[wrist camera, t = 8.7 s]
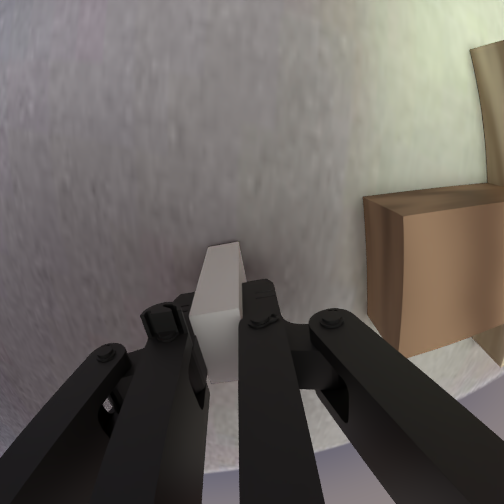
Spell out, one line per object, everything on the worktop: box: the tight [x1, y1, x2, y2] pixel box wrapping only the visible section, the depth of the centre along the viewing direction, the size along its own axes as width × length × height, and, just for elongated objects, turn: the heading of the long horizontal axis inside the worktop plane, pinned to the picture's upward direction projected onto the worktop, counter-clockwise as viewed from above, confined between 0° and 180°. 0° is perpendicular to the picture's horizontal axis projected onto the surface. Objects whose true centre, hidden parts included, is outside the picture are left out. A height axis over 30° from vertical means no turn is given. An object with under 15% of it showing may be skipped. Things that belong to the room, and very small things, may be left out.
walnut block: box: [363, 183, 504, 358], centre depth 15 cm, size 9×7×5 cm
